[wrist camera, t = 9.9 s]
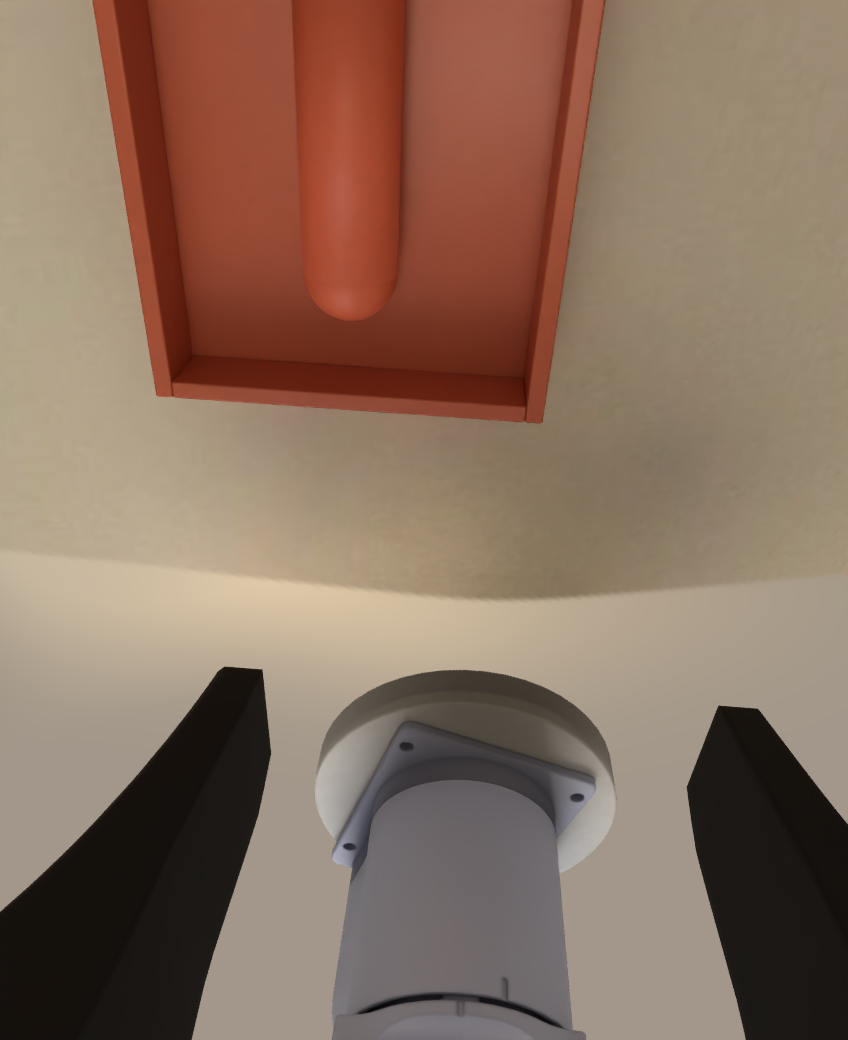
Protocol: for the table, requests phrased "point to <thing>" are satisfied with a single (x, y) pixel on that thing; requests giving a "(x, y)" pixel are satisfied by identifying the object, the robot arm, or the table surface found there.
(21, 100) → the table surface
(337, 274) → the red spoon
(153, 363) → the red tray
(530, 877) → the robot arm
